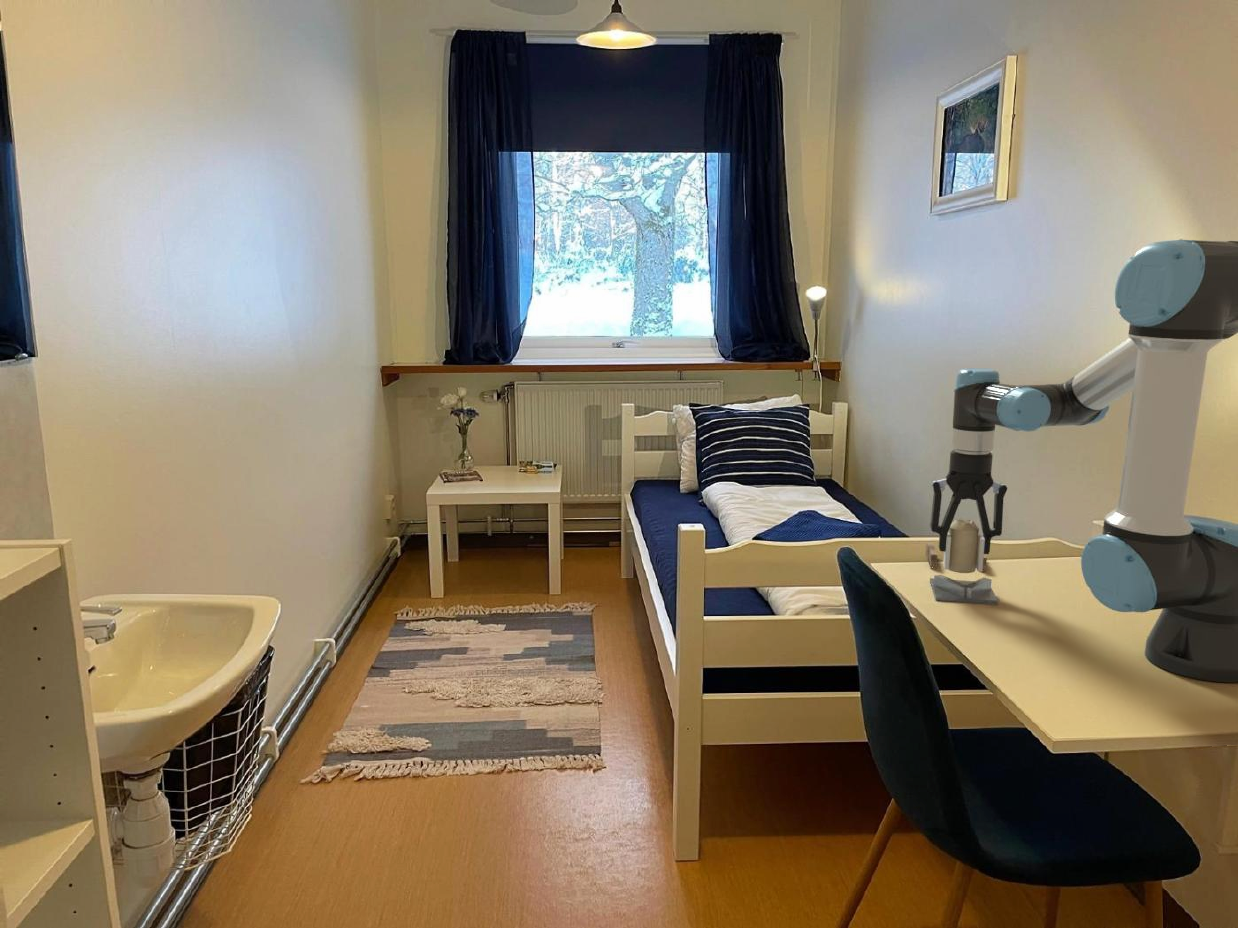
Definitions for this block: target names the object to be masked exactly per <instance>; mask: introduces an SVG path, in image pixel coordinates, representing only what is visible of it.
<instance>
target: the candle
mask: <svg viewBox="0 0 1238 928" xmlns="http://www.w3.org/2000/svg"><path fill="white" fill-rule="evenodd" d="M948 533H950V536H951V547H950V560H949V571H951V572H954V573H957V574H971V573H974V572H976V570H977V568H976V560H977V548H978V536H979V535H980V534H979V533H980V528H979V526H978V525H977V524H976V522H974V520H973V519H967V520H965V519H964V520H963V519H955V520H954V521H952V524H951V526H950V529H949V531H948Z"/></svg>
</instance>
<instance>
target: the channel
mask: <svg viewBox="0 0 1238 928" xmlns="http://www.w3.org/2000/svg"><path fill="white" fill-rule="evenodd" d="M977 549H978V548H977ZM925 556H926V560H927V563H928V566H929V565H930V566H929V568H930V567H933V568H936V569H937V565H938V552H937V551H936V547H935V545H934V543H933V541H926V547H925ZM987 560H988V558H987V556H986V554H984V556H983V568H982V572H981V573H986V572H987ZM976 561H977V560H976Z"/></svg>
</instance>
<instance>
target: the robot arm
mask: <svg viewBox="0 0 1238 928" xmlns="http://www.w3.org/2000/svg"><path fill="white" fill-rule="evenodd" d="M1114 301H1115V302H1114V304H1115V306H1116V308H1118V309H1119V311H1118V313H1119V315H1120V316H1121V318H1122V319H1123V320H1124V321H1126V322H1127V323H1128V324H1129V326H1128V327H1129V328H1128V333H1127V334H1128V338H1127V339H1126V340H1124V341H1123V342H1121V343H1120V344H1118V345H1117V346H1116V347H1114V348H1113V349H1111V350H1110V351H1109V352H1107V353H1106V354H1104V355H1103V356H1101V357H1100V358H1098V359H1097V360H1096V361H1094V362H1093V363H1092V364H1090V365H1088V366H1087V367H1086V368H1084V369H1083V370H1081V371H1080V372H1078V373H1077V374H1076V375H1073V377H1071V378H1070V379H1068V380H1067V381H1065V382H1063V383H1053V384H1052V383H1051V384H1050V383H1049V384H1048V383H1047V384H1025V385H1023V384H1022V385H1021V384H1020V385H1014V384H1013V385H1012V384H1006V383H1001V381H1000V373H999V372H998V371H997V370H996V369H990V368H989V369H988V368H962V369H960V370H959V371H958V372H957V374H956V380H955V388H954V390H953V392H954V396H953V398H954V400H953V416H952V429H951V430H952V432H951V442H950V443H951V444H950V447H951V448H952V449H953V450H951V451H950V456H949V469H948V474H947V475H946V476H945V478H944V479H943V478H942V479H939V480H937V479H933V480H931V486H932V489H933V498H932V506H931V514H930V515H931V517H930V526H929V527H930V529H931V531H932V533H936V534H939V537H938V539H939V540H938V548H939V551H940V552H943V564H942V566H943V569H944V570H949V560H950V547H951V536H950V533H949V529H950V526H951V524H952V523H953V522H954V521H953V520H954V518H955V516H956V512H957V510H958V508H959V505H960V504H961V502H962V500H972V501H975V503H976V508H977V512H978V517H979V521H980V526H981V531H982V534H981V535H980V534H979V536H978V549H977V561H976V570H977V572H980V573H983V572H982V568H983V556H984V554H985V555H989V554H990V550H991V541H992V538H994V537H1001V535H1002V533H1003V517H1004V516H1003V511H1004V497H1005V496H1006V493H1007V490H1008V486H1007V485H1006V484H1005V483H1004V482H997V481H994V479H993V476H992V469H993V466H992V465H993V457H994V455H993V453H992V452H991V451H993V450H994V447H995V445H994V442H995V431H996V430H995V429H996V426H998V427H999V426H1000V427H1003V428H1007V429H1010V430H1012V431H1016V432H1018V431H1023V432H1035V431H1036V430H1039V429H1040V428H1043V427H1054V426H1055V427H1058V426H1061V427H1063V426H1081V427H1082V426H1085V425H1088V424H1089V425H1090V424H1096V423H1098V422H1100V421H1102V420H1103V419H1104V418H1105V417H1106V414H1107V413H1108V412H1109V409H1110V405H1111V404H1113V403H1115V402H1116V401H1118V400H1119V399H1121V398H1123V397H1125V395H1127V394H1129V393H1131V392H1132V396H1131V401H1130V409H1129V415H1128V416H1129V417H1128V423H1127V432H1126V439H1125V446H1124V455H1123V462H1122V470H1121V477H1120V478H1121V479H1120V485H1119V491H1118V500H1117V505H1116V508H1114V509H1113V510H1112V511H1111V510H1110V512H1108V513H1107V514H1105V515H1104V520H1103V526H1102V533H1101V535H1096V536H1094V537H1093V538H1091V539H1090V540H1089V542H1086V544H1085V545H1084V547H1083V549H1082V553H1081V557H1080V558H1081V559H1080V564H1081V572H1082V575H1083V580H1084V581H1085V584H1086V585H1087V587H1088V588H1089V590H1090V592H1091V594H1092V595H1093V596H1094V598H1095V599H1096V600H1098V602H1100V603H1101V604H1102V605H1103V606H1105V608H1108V609H1110V610H1112V611H1116V612H1119V613H1132V612H1133V613H1134V612H1135V613H1140V614H1141V613H1146V612H1150V611H1156V610H1161V611H1160V614H1159V615H1158V618H1157V619H1156V622H1155V623H1154V625H1153V627H1152V629H1151V630H1150V633H1149V634H1148V636H1147V638H1146V641H1145V647H1144V656H1145V657H1146V659H1148V661H1150V662H1151V663H1152V664H1153V665H1155V666H1156V667H1159V668H1161V669H1164V670H1165V671H1168V672H1171V673H1174V674H1178V675H1179V676H1183V677H1184V676H1185V677H1187V678H1192V679H1196V680H1201V681H1208V682H1215V683H1238V523H1234V522H1230V521H1227V520H1222V519H1216V518H1211V517H1207V516H1206V517H1205V516H1197V515H1192V514H1191V515H1189V514H1185V513H1184V512H1185V506H1186V499H1187V492H1188V486H1189V479H1190V473H1191V465H1192V459H1193V453H1194V445H1195V439H1196V433H1197V432H1196V431H1197V427H1198V419H1199V413H1200V412H1199V411H1200V407H1201V400H1202V392H1203V385H1204V381H1205V380H1204V379H1205V373H1206V365H1207V360H1208V353H1209V351H1210V350H1212V349H1213V348H1214V347H1215V346H1217V345H1219V344H1221V342H1222V341H1225V340H1228V339H1229V338H1231V337H1233V336H1234V335H1237V334H1238V240H1229V241H1226V240H1225V241H1223V240H1222V241H1221V240H1196V239H1195V240H1194V239H1182V238H1181V239H1175V240H1162V241H1154V242H1153V243H1149V244H1147V245H1145V246H1143V247H1141V248H1140V249H1139V250H1137V251H1136V253H1135V254H1134V255H1133V256H1131V257H1130V258H1129V259H1128V260H1127V261H1126V262H1125V264H1124V265H1123V267H1122V268H1121V271H1120V272H1119V274H1118V277H1117V280H1116V283H1115V289H1114ZM947 486H948V487H949V489H950V490H951V492H952V495H951V498H950V501H949V504H948V507H947V509H946V512H945V514H944V517H943V520H942V523H941V524H940V516H941V507H942V506H941V505H942V496H943V494H942V492H944V491H945V489H946V488H945V487H947ZM991 488H992V492H993V493H994V497H993V499H994V500H993V501H994V502H993V521H992V522H993V523H992V528H991V527H990V522H989V519H988V513H987V509H986V505H985V504H986V503H985V499H984V495H985V494H987V493H988V492H989V490H990V489H991ZM949 571H950V570H949Z"/></svg>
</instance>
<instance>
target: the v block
mask: <svg viewBox="0 0 1238 928" xmlns="http://www.w3.org/2000/svg"><path fill="white" fill-rule="evenodd" d="M992 579H993V578H992ZM992 579H991V578H989V577H987V578H986V577H982V578H979V579H977V580H974V581H973V580H961V579H960V580H959V579H953V578H950V577H948V576H945V575H943V574H935V575H934V576H933V578H932V577H931V578H929V584H931V585H930V587H932V588H931V591H932V590H933V591H932V593H933V597H934V600H935V601H938V600H940V601H942V602H953V603H969V604H979V605H980V604H981V605H994V606H995V605H996V606H998V605H999V600H998V598H997V596H996V594H995V592H994V590H993V588H992Z"/></svg>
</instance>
